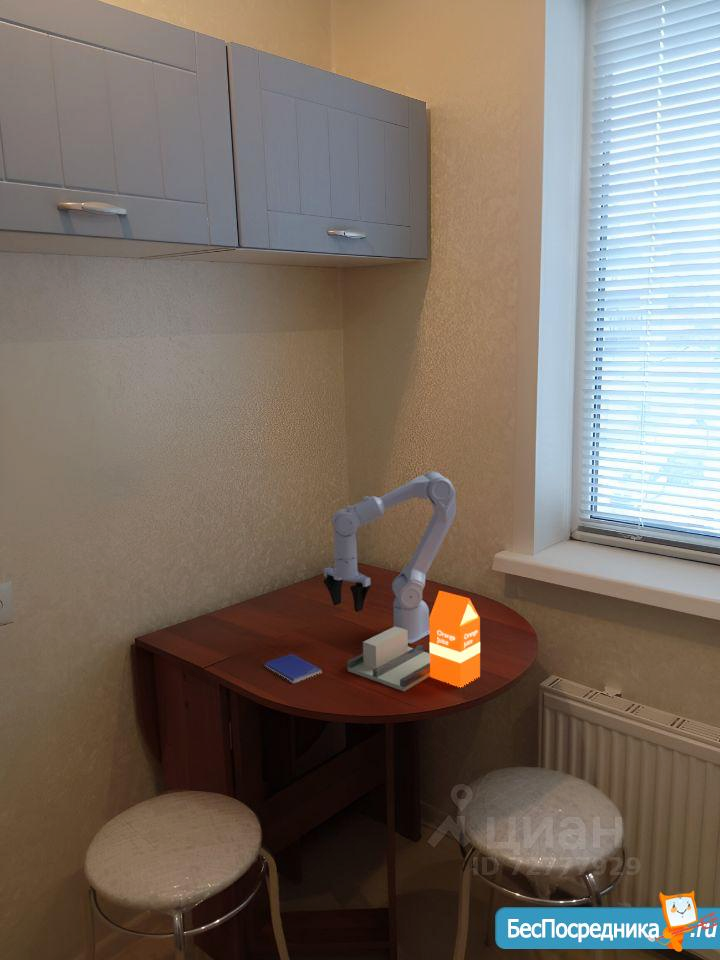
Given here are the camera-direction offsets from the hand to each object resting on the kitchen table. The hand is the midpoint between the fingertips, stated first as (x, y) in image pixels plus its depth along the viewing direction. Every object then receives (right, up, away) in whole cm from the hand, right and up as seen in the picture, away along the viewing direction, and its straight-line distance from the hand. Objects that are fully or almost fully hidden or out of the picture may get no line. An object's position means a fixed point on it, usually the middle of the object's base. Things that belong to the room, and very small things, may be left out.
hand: (347, 607), depth 195 cm
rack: (+13, -12, -14) cm, 22 cm away
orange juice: (+25, -13, -20) cm, 35 cm away
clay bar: (+10, -11, -12) cm, 19 cm away
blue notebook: (-13, -13, -13) cm, 23 cm away
